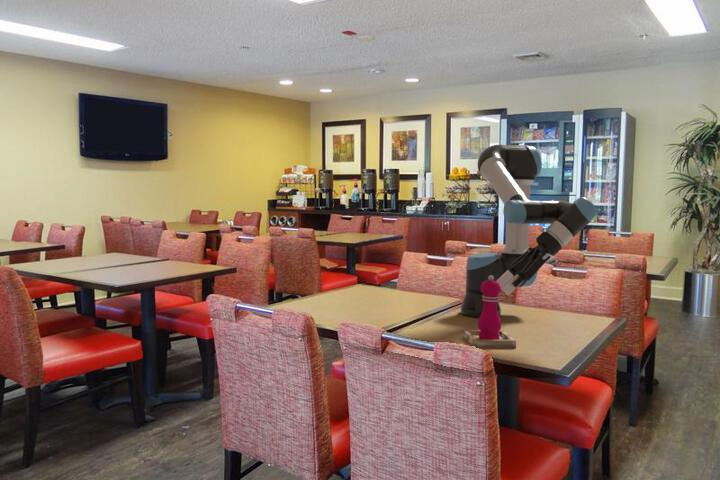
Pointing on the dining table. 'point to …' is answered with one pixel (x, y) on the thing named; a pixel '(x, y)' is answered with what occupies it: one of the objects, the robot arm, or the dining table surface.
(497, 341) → the tray
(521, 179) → the robot arm
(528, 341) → the dining table surface
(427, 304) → the dining table surface
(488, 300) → the pepper mill
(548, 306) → the dining table surface
